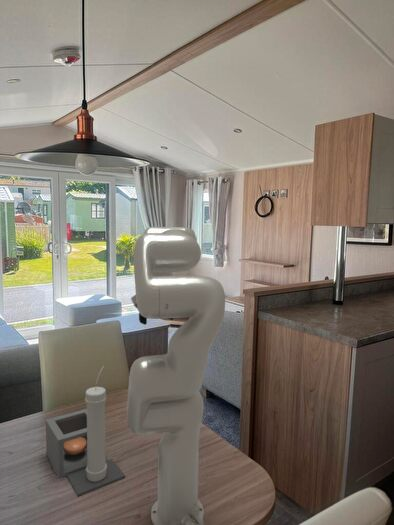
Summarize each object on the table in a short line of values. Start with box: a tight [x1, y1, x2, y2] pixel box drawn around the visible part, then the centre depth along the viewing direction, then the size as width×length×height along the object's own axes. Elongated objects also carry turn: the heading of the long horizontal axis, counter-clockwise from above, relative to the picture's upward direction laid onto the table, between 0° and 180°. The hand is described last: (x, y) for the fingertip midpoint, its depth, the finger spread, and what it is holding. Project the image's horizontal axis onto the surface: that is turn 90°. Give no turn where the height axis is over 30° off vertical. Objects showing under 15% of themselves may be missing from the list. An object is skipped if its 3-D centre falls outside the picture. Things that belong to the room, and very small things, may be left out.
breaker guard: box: [45, 408, 87, 480], centre depth 112 cm, size 13×13×11 cm
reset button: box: [64, 437, 86, 455], centre depth 112 cm, size 6×6×3 cm
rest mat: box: [66, 458, 126, 497], centre depth 105 cm, size 9×13×1 cm
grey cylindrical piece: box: [84, 365, 107, 482], centre depth 103 cm, size 6×6×30 cm
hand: (156, 321), depth 120 cm, fingers open, 9 cm apart
